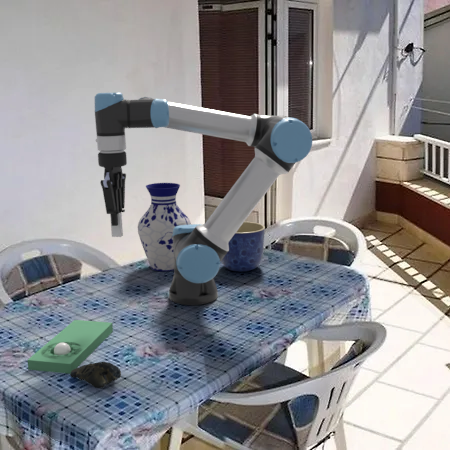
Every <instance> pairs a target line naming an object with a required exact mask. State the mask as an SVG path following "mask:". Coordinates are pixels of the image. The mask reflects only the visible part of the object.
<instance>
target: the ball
mask: <svg viewBox="0 0 450 450" xmlns="http://www.w3.org/2000/svg"><path fill="white" fill-rule="evenodd" d="M70 352H71V349H70V346H69V345H68V344H67V343H63V342H62V343H59V344H57V345H56V346H55V348H54V354H55V355H65V354H68V353H70Z"/></svg>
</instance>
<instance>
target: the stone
mask: <svg viewBox="0 0 450 450" xmlns="http://www.w3.org/2000/svg"><path fill="white" fill-rule="evenodd" d="M69 376H70V377H71V378H73V379H78V380H80V381H84V382H86V383H88V384H89V385H90V386H92V387H93V388H95V389H104V388H105V387H106V386H107V385H108V384H110V383H111V382H115V381H116V380H118V379H120V378H122V372H121V369H120V368H119V367H118V366H116V365H115V364H113V363H112V362H107V361H99V362H94V363H88V364H84V365H80V366H78V367H77V368H76V369H74V370H72V371H71V374H70V375H69Z"/></svg>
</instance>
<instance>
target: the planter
mask: <svg viewBox="0 0 450 450" xmlns="http://www.w3.org/2000/svg"><path fill="white" fill-rule="evenodd" d="M265 233H266V226H265V225H263V224H262V223H258V222H253V221H252V222H251V221H244V222H243V224H242V225H241V226H240V228H239V229H238V230H237V232H236V233H235V234H234V236H233V237H232V238H231V240H230V241H229V243H228V245H229V251H228V252H227V254H226V255H225V256H224V258H223V259H222V260H221V262H220V263H221V264H222V265H223V266H224V267H225V268H226V269H227V270H230V271H233V272H249V271H253V270H255V269H256V268H257V267H259V265H260V264H261V262H262V261H263V260H262V259H263V256H264V246H265Z"/></svg>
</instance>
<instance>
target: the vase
mask: <svg viewBox="0 0 450 450" xmlns="http://www.w3.org/2000/svg"><path fill="white" fill-rule="evenodd" d="M180 187H181V184H179V183H174V182H154V183H149V184H146V185H145V188H146V189H147V192H148V193H149V195H150V200H151V202H150V205H149V207H148V209H147V210H146V211H145V213H144V214H143V215H142V216H141V218H140V219H139V221H138V223H137V233H138V236H139V239H140V242H141V245H142V248H143V251H144V254H145V256H146V258H147V261H148V264H149V267H150V269H151V270H153V271H154V272H162V273H163V272H165V273H167V272H174V252H173V237H172V235H173V229H174V227H176V226H180V225H190V224H191V220H190V218H189V216H187V215H186V214H185V213H184V211H183V210H182V209H181V208H180V207H179V206H178V203H177V200H176V199H177V194H178V192H179V189H180Z"/></svg>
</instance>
